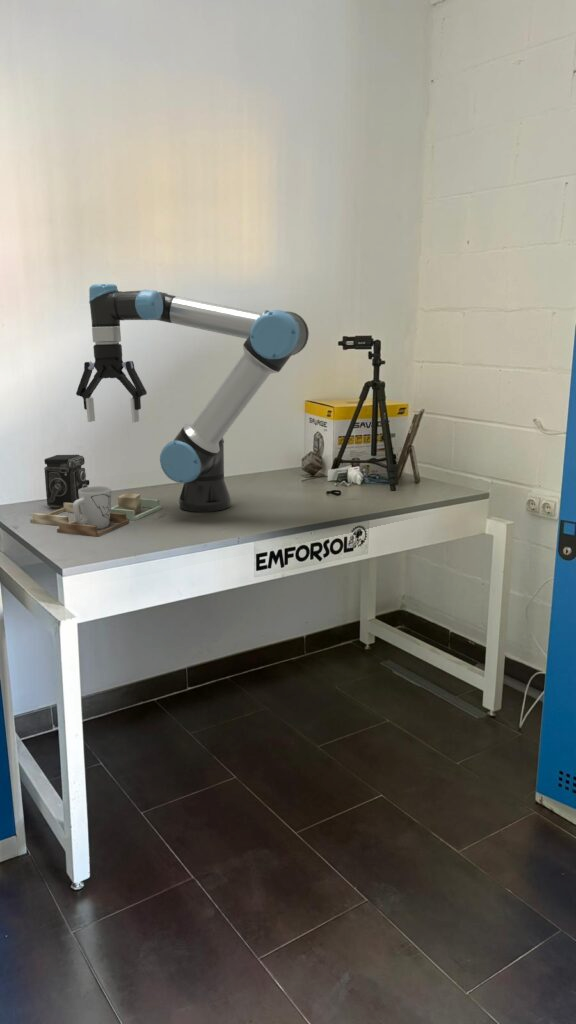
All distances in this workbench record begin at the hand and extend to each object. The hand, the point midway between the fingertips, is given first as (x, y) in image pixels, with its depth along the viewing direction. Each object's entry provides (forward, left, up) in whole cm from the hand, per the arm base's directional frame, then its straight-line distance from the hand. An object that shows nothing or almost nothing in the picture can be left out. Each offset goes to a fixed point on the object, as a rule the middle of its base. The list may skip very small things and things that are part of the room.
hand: (113, 421), depth 214 cm
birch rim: (+10, +10, -26) cm, 30 cm away
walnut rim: (-3, +16, -26) cm, 31 cm away
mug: (-2, +16, -26) cm, 31 cm away
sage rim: (-3, -2, -26) cm, 26 cm away
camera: (+18, -2, -26) cm, 32 cm away
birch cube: (-3, -2, -26) cm, 26 cm away
